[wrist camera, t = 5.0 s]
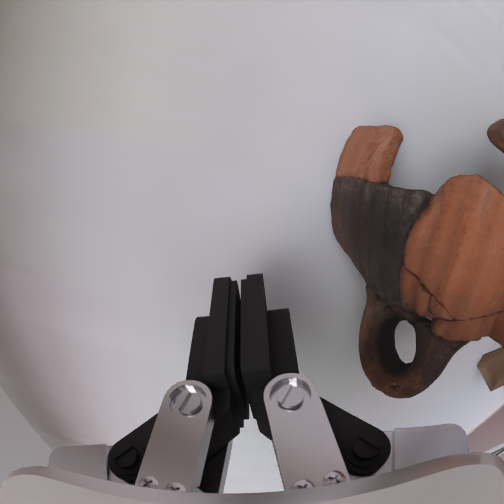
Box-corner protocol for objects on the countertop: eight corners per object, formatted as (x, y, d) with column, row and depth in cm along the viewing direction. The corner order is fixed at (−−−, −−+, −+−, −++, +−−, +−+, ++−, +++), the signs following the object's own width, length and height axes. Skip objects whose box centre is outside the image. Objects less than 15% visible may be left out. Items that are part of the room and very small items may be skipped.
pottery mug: (354, 48, 9) (582, 80, 2) (442, 140, 14) (565, 184, 8) (254, 341, 12) (407, 489, 6) (374, 322, 18) (476, 395, 11)
